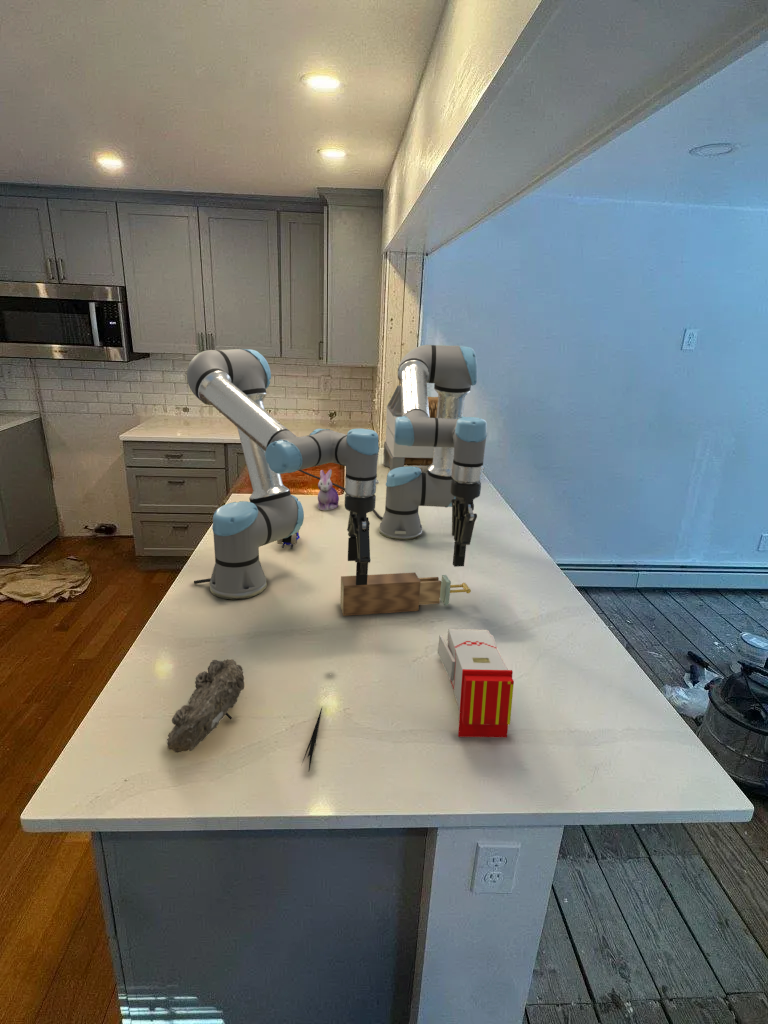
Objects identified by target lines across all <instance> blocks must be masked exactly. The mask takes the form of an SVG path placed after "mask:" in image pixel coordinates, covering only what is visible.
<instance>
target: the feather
mask: <svg viewBox="0 0 768 1024" xmlns="http://www.w3.org/2000/svg"><path fill="white" fill-rule="evenodd" d="M329 675H330V676H331V675H332V674H331V673H330V674H329ZM322 710H323V707H321V708H320V710H319V713H318V716H317V719H316V723H315V725H314V728H313V731H312V733H311V737H310V739H309V742H308V745H307V748H306V751H305V754H304V757H303V760H302V763H301V767H302V765H303V763H304V761H305V758H308V759H309V760H308V762H307V763H308V764H307V766H308V771H310V770H311V766H312V765H311V764H312V760H313V757H315V756H314V755H315V751H316V749H315V746H317V739H318V733H319V729H320V722H321V717H322V712H323V711H322ZM313 754H314V755H313ZM306 755H307V757H306Z"/></svg>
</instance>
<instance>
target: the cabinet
mask: <svg viewBox="0 0 768 1024" xmlns="http://www.w3.org/2000/svg"><path fill="white" fill-rule="evenodd" d="M419 578H420V577H419V576H418V574H417V573H416V572H398V573H397V572H396V573H380V574H368V576H367V585H356V575H342V576H340V596H339V597H340V599H339V600H340V601H339V602H340V603H339V607H340V609H341V612H342V617H347V616H348V617H349V616H363V615H364V616H365V615H377V614H378V615H379V614H380V615H381V614H394V613H406V612H407V613H408V612H409V613H410V612H419V611H420V610H419V609H420V607H419V606H420V605H419V596H420V583H421V582H420V580H419Z"/></svg>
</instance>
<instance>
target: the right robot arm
mask: <svg viewBox="0 0 768 1024" xmlns="http://www.w3.org/2000/svg"><path fill="white" fill-rule="evenodd" d="M397 379H398V382H399V384H400V386H401V403H402V417H397V418H396V420H395V443H396V444H398V445H406V446H428V447H434V453H433V463H432V464H431V465H430V466H429V465H428V466H427V472H424V471H423V472H422V469H421V468H420V467H419V466H407V465H404V467H398V468H395V469H392V470H391V471H390V470H389V471H388V473H387V475H386V482H385V486H386V488H385V489H386V490H385V504H384V505H385V507H384V508H385V509H384V513H383V515H382V516H381V515H380V514H379V513H378V512H377V511H376V509H374V510H373V511H372V512H373V513H374V515H375V516H376V517H377V518H378V519H379V520H381V522H379V527H378V533H379V534H380V535H381V536H382V537H385V538H387V539H389V540H395V541H410V540H415V539H418V538H420V537H421V536H422V535H423V525H422V524H421V518H420V515H419V507H435V508H451V536H452V537H453V541H454V545H453V555H452V566H453V567H454V568H456V567H457V568H458V567H465V560H466V551H467V550H466V549H467V546H470V545H471V541H472V537H473V532H474V528H475V523H476V521H477V519H478V514H477V513H474V509H475V503H474V500H475V499H477V498H479V497H480V496H481V490H482V482H481V481H482V479H483V471H484V470H485V467H484V459H485V453H486V452H485V451H486V441H487V437H488V422H487V421H486V420H485V419H483V418H481V417H476V416H464V408H465V400H466V396H467V395H468V394H469V393H471V389H472V387H474V386H475V385H477V382H478V360H477V354H476V351H475V350H474V349H473V347H470V346H464V345H444V344H443V345H441V344H422V345H419V346H417V347H414V348H412V349H411V350H410V351H408V352H407V353H405V355H404V356H403V357H402V359H401V360H400V362H399V364H398V367H397ZM428 384H434V386H433V389H434V391H435V392H436V393H437V397H438V405H437V417H436V418H430V417H429V405H428V397H429V396H428V395H429V394H428ZM298 472H300V473H302V474H304V475H307V476H309V477H312V478H315V479H317V480H319V481H320V476H317V475H314V474H312V473H309V472H307V471H305V470H303V469H302V470H299V471H298ZM332 486H334V487H337V488H338V489H340V490H343V491H345V487H344V486H341V485H339V484H336V483H334V482H332Z"/></svg>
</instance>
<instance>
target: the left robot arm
mask: <svg viewBox="0 0 768 1024" xmlns="http://www.w3.org/2000/svg"><path fill="white" fill-rule="evenodd" d="M271 379H272V372H271V367H270V365H269V363H268V361H267V359H266V358H265V357H264V355H263V354H261V353H260V352H259V351H257V350H256V349H249V348H233V349H208V350H203V351H200V352H199V353H197V354H196V355H195V356H193V357H192V358H191V360H190V362H189V364H188V367H187V370H186V380H187V384H188V388H189V389H190V390H191V392H192V393H193V395H194V396H195V397H196V398H197V399H198V400H199V401H200V402H201V403H203V404H204V405H206V406H212V407H214V409H216V410H217V411H218V412H219V413H220V414H221V415H222V416H224V417H225V418H226V419H227V420H229V421H230V422H231V424H233V425H234V426H235V427H236V429H237V432H238V436H239V440H240V441H239V442H240V446H241V448H242V449H241V450H242V451H243V457H244V460H245V464H246V465H245V466H246V468H247V473H248V476H249V480H250V485H251V488H252V492H251V494H250V496H249V498H248V499H249V501H246V500H242V501H241V500H240V501H233V502H229V503H226V504H223V505H221V506H220V507H218V508H217V509H216V510H215V511H214V513H213V516H212V526H211V527H212V528H211V529H212V532H213V549H214V566H213V569H212V572H211V577H210V578H202V579H197V580H196V579H195V580H194V581H193V584H194V585H199V584H206V583H209V590H210V591H209V592H210V593H211V594H212V595H214V596H215V597H218V598H221V599H225V600H244V599H250V598H253V597H254V596H258V595H260V594H261V593H262V592H264V591H265V589H266V588H267V575H266V574H265V571H264V569H263V566H262V563H261V562H260V548H261V547H263V546H266V545H268V544H271V543H272V544H273V543H274V542H277V540H280V539H284V538H288V537H289V536H291V535H293V534H295V533H297V532H298V531H299V532H300V530H301V528H302V526H303V524H304V519H305V512H304V507H303V504H302V502H301V501H300V500H299V498H298V497H297V496H295V495H293V494H291V489H290V488H288V487H287V486H285V485H284V484H283V479H282V474H291V473H295V472H300V471H299V470H302V471H303V470H306V469H309V468H310V469H311V468H313V467H318V466H319V467H320V466H323V465H326V464H331V463H332V464H336V465H340V466H343V467H345V475H344V477H345V478H344V488H345V490H344V492H345V494H344V509H346V510H347V511H348V512H349V514H348V523H347V528H346V531H347V532H348V533H347V536H348V537H347V538H348V539H347V562H354V563H356V564H355V565H356V569H355V576H356V585H367V576H368V575H369V574H368V573H369V563H371V561H372V560H371V539H370V524H371V522H370V520H369V517H368V515H367V514H368V513H371V512H373V510H376V500H377V499H376V498H377V495H376V493H377V485H378V484H379V483H380V481H379V480H378V479H377V476H378V473H377V472H378V463H379V462H378V461H379V452H380V446H379V434H378V433H377V431H376V430H373V429H369V428H352V429H349V430H348V431H347V433H346V434H345V433H342V432H338V431H334V430H332V429H330V428H329V429H328V428H315V429H314V430H313V431H312V432H310V433H309V434H308V435H303V436H297V435H296V434H295V433H293V432H292V431H291V430H290V429H288V428H287V427H286V426H285V425H283V424H282V423H281V422H280V421H279V420H277V419H276V418H275V417H274V416H273V415H271V414H270V413H269V412H268V411H266V409H265V403H264V401H265V399H266V397H267V395H268V393H267V389H268V388H269V386H270V384H271V381H270V380H271Z"/></svg>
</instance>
